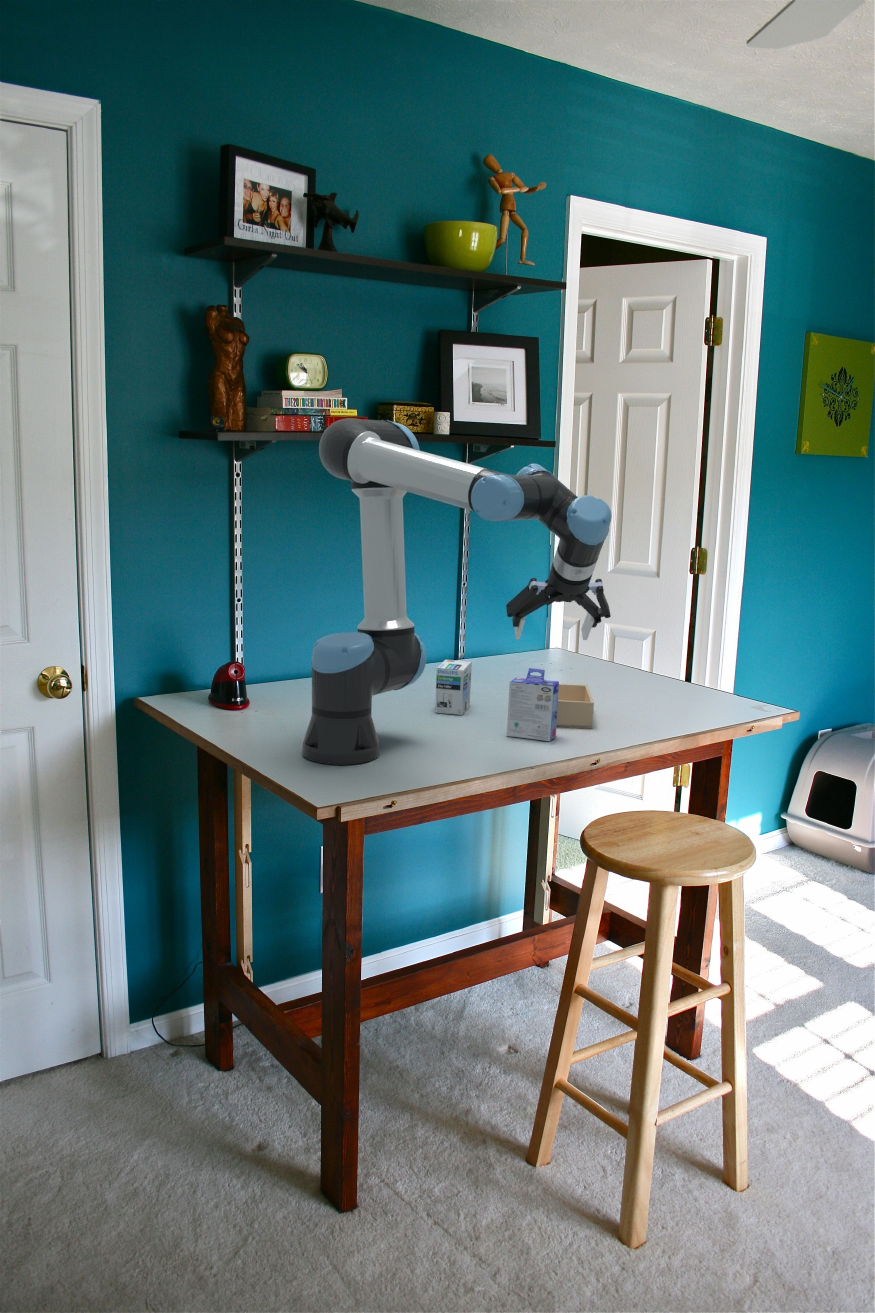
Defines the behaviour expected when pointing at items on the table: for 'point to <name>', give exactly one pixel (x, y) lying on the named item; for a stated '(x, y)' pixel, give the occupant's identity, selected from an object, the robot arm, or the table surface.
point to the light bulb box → (453, 687)
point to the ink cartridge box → (533, 707)
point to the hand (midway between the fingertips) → (550, 634)
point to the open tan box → (574, 707)
